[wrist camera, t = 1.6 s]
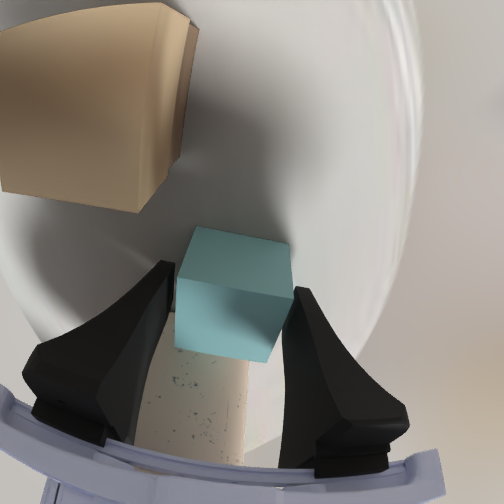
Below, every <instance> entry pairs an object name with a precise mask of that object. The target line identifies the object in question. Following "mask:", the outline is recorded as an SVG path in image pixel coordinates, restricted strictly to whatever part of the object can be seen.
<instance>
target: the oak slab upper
mask: <svg viewBox="0 0 504 504" xmlns="http://www.w3.org/2000/svg"><path fill="white" fill-rule="evenodd" d="M189 23H190V19H189V18H187V17H186V16H184V15H182V14H180V13H179V12H177V11H175V10H174V9H172V8H170V7H168V6H167V5H165V4H163V3H161V2H158V3H135V4H122V5H112V6H103V7H96V8H89V9H83V10H77V11H72V12H67V13H62V14H58V15H53V16H49V17H45V18H41V19H38V20H34V21H31V22H27V23H24V24H21V25H18V26H14V27H11V28H9V29H6V30H3V31H0V179H1V186H2V191H3V192H9V193H16V194H23V195H29V196H35V197H42V198H48V199H54V200H61V201H67V202H73V203H79V204H85V205H91V206H97V207H103V208H109V209H115V210H121V211H127V212H132V213H139V212H140V210H141V209H142V208H143V207H144V205H145V204H146V203H147V201H148V200H149V199H150V198H151V196H152V195H153V194H154V193H155V191H156V190H157V189H158V188H159V186H160V185H161V184H162V183H163V182H164V180H165V179H166V178H167V174H168V163H169V152H170V143H171V134H172V125H173V117H174V109H175V102H176V95H177V88H178V82H179V76H180V70H181V64H182V58H183V53H184V47H185V42H186V37H187V32H188V27H189Z"/></svg>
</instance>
